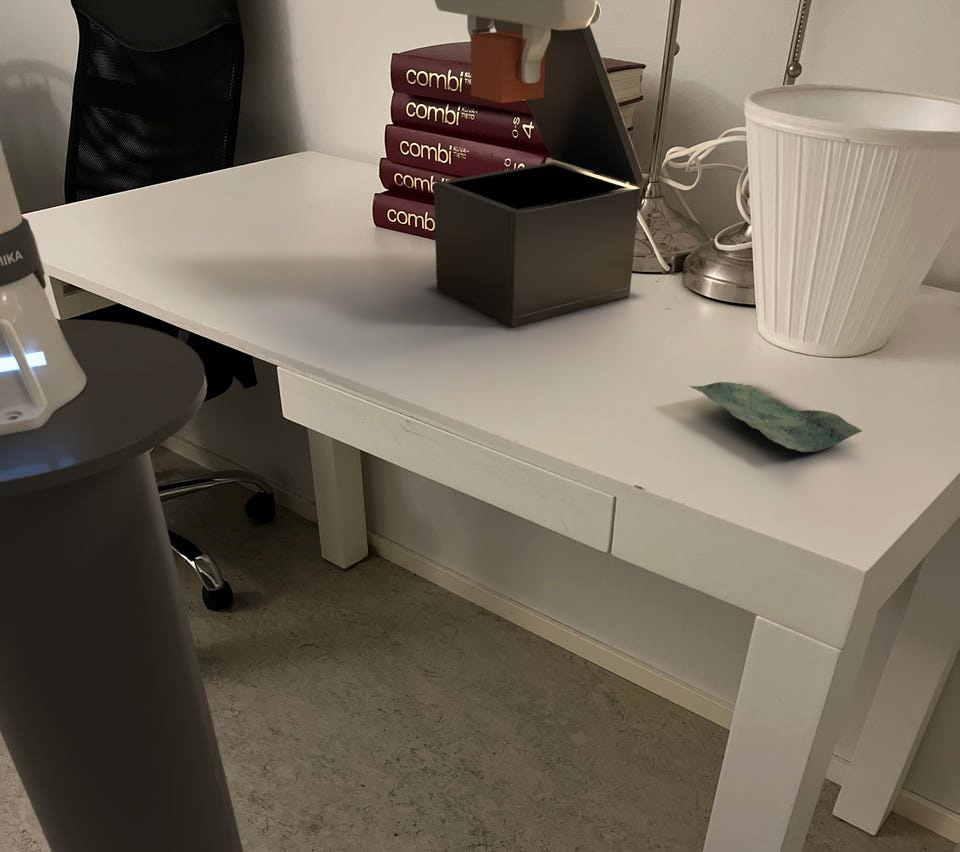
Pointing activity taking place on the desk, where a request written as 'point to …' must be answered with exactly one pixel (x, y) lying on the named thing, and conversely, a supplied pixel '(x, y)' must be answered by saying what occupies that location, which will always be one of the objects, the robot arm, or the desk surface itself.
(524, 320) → the black box
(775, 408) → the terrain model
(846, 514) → the desk surface
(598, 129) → the box lid
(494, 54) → the terracotta orange cube
